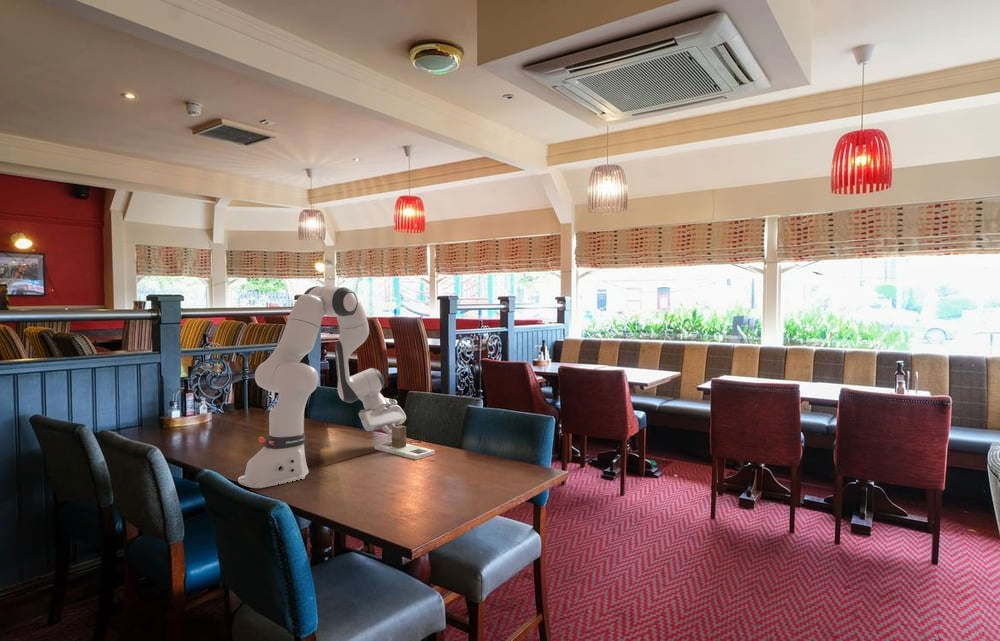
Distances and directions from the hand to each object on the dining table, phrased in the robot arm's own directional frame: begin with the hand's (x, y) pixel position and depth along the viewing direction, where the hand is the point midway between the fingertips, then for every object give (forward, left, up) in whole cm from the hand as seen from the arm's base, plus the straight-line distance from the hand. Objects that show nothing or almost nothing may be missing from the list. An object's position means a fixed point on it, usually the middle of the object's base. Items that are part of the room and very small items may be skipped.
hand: (393, 434), depth 226 cm
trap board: (0, -7, -6) cm, 9 cm away
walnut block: (0, -4, -4) cm, 6 cm away
